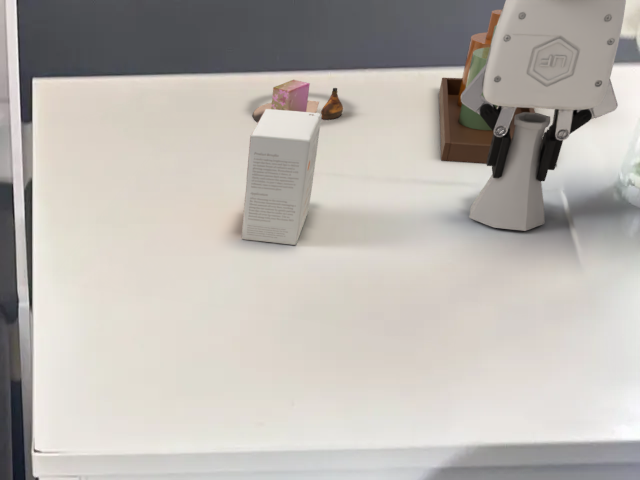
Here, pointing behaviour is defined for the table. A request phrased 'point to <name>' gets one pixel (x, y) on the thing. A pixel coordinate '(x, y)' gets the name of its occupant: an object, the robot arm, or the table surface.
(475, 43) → the amber bottle
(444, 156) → the tray
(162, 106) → the table surface
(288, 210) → the small box
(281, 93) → the plate of sweets
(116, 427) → the table surface
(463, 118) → the green bottle
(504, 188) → the flask
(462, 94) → the robot arm
